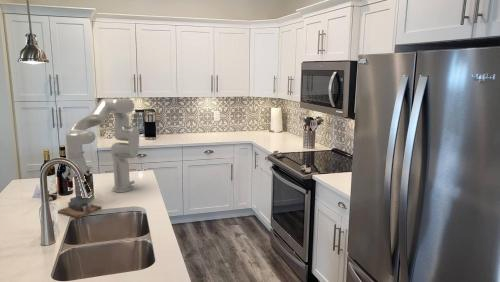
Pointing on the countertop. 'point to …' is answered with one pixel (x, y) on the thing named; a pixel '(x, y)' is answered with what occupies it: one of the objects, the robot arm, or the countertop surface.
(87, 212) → the pin tray
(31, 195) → the countertop surface
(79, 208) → the dark grey block
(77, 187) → the coffee box
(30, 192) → the countertop surface
